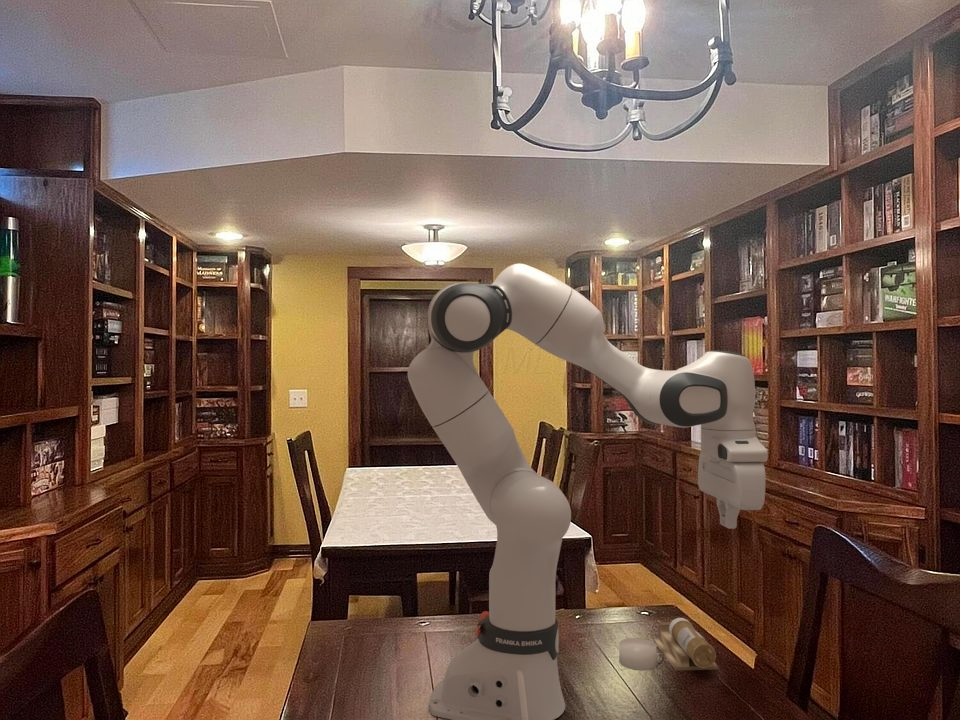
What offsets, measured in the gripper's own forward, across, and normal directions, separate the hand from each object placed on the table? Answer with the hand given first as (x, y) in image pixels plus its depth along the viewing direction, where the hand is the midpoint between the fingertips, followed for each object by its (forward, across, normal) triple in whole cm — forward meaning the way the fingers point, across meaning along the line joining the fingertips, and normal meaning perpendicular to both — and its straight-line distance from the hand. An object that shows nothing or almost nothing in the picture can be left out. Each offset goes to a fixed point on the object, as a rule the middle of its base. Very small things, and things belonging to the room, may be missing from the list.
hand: (728, 526), depth 123 cm
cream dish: (+29, -16, -12) cm, 35 cm away
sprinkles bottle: (+25, -8, -1) cm, 26 cm away
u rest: (+29, -19, -1) cm, 35 cm away
